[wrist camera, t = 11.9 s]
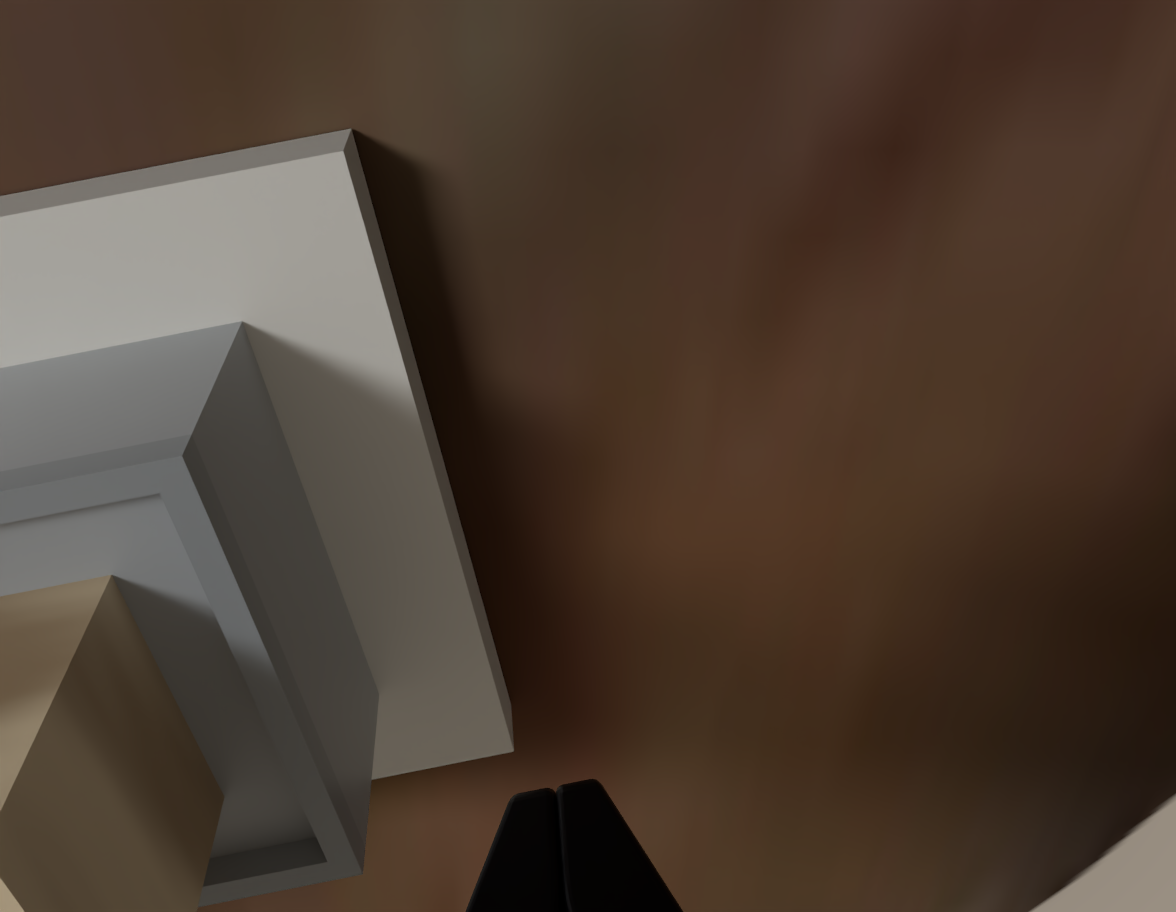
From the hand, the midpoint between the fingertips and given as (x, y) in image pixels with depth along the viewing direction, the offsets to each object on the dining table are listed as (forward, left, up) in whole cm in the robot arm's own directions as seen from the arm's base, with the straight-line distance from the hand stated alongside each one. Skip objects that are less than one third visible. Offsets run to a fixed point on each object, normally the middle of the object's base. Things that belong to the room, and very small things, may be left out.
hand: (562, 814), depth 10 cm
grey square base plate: (+9, +3, -12) cm, 15 cm away
